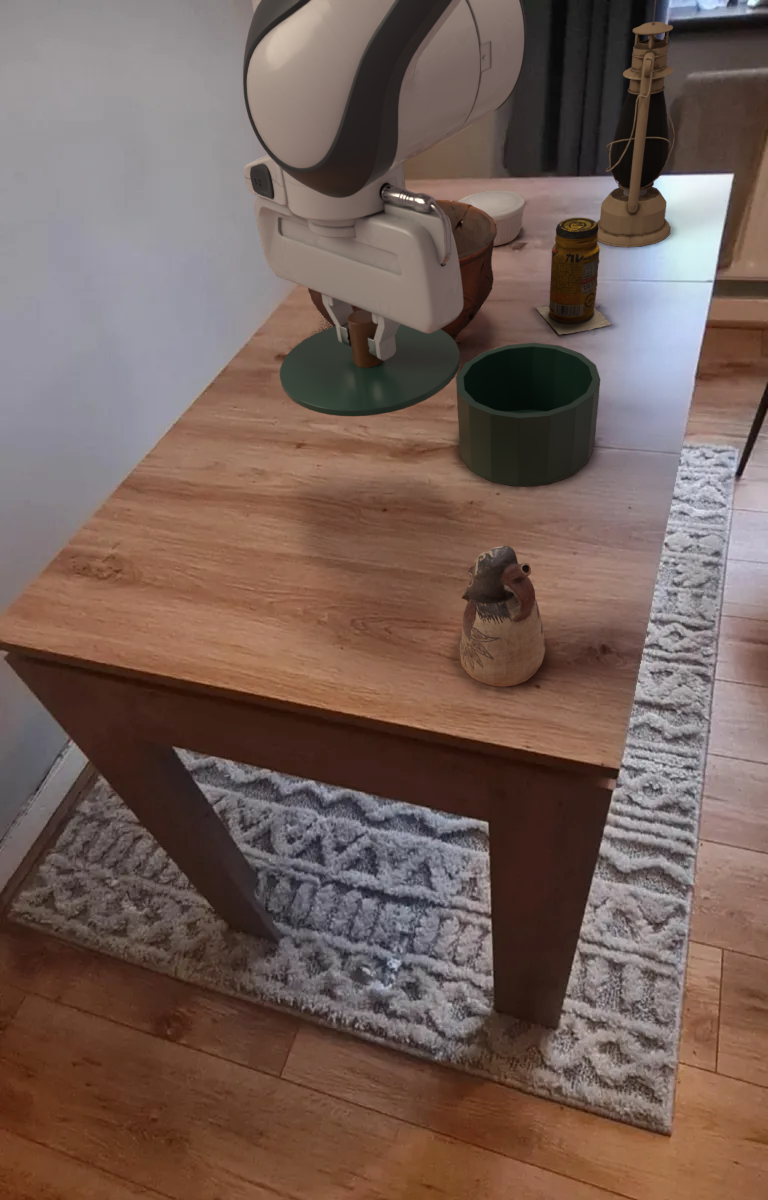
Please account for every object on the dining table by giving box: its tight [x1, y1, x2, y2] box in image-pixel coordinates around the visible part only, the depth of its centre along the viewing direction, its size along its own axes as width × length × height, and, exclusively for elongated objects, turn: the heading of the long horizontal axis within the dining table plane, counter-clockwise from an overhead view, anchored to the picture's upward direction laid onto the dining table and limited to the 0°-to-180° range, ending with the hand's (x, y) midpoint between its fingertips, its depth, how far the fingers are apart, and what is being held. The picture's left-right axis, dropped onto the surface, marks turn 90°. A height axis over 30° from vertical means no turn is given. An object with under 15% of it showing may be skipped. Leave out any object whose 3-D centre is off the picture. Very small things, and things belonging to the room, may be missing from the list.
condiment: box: [536, 217, 612, 335], centre depth 104 cm, size 7×8×12 cm
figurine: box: [458, 545, 546, 688], centre depth 64 cm, size 7×7×12 cm
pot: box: [455, 342, 601, 487], centre depth 86 cm, size 15×15×8 cm
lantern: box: [596, 0, 675, 248], centre depth 115 cm, size 14×12×30 cm
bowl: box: [307, 199, 497, 341], centre depth 103 cm, size 25×25×15 cm
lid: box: [279, 310, 461, 417], centre depth 68 cm, size 16×16×5 cm
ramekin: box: [457, 189, 526, 247], centre depth 129 cm, size 11×11×5 cm
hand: (367, 348), depth 68 cm, fingers closed on lid, 2 cm apart
